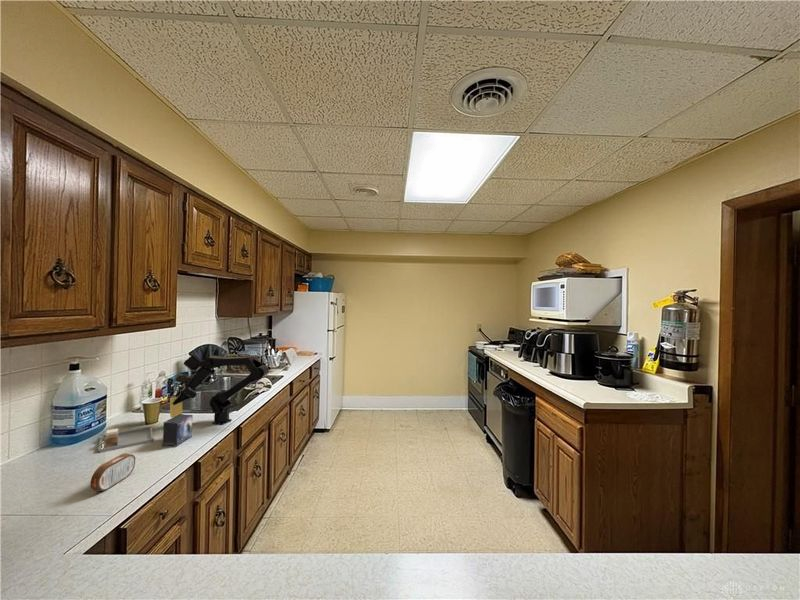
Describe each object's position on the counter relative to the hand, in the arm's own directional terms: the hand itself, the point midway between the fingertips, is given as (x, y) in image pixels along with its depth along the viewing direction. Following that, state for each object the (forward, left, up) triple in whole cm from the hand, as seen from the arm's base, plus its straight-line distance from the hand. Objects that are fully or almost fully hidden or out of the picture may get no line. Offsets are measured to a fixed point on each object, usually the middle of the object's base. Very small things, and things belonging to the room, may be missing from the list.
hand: (172, 403), depth 162 cm
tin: (+43, +26, -12) cm, 51 cm away
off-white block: (+19, -11, -11) cm, 25 cm away
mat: (-1, +1, -12) cm, 12 cm away
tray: (+17, -5, -12) cm, 22 cm away
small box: (+11, +17, -12) cm, 24 cm away
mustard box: (-1, +1, -6) cm, 6 cm away
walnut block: (+23, -5, -11) cm, 26 cm away
